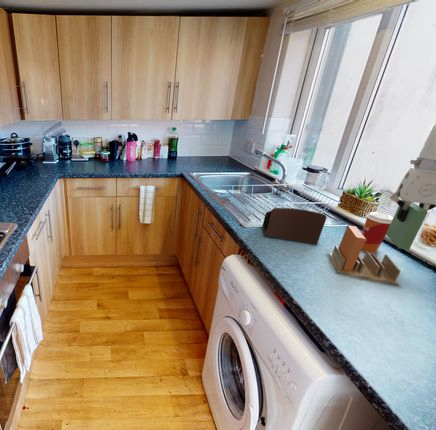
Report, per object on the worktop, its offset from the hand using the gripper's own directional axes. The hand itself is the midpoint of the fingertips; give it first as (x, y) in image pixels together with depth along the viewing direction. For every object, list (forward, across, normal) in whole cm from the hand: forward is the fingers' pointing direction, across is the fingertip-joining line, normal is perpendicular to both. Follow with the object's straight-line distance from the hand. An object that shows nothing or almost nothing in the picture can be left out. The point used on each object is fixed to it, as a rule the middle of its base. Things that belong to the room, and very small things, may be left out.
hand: (406, 220), depth 92 cm
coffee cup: (+21, +1, +18) cm, 28 cm away
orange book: (+19, -12, 0) cm, 23 cm away
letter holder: (+20, -27, +18) cm, 39 cm away
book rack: (+20, -6, 0) cm, 21 cm away
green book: (+8, 0, 0) cm, 8 cm away
